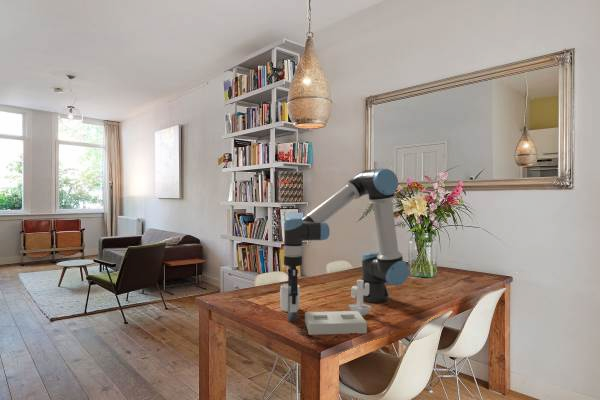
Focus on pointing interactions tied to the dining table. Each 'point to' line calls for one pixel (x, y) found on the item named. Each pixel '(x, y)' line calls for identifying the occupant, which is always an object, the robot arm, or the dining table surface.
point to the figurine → (360, 298)
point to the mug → (285, 297)
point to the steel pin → (291, 315)
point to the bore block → (335, 322)
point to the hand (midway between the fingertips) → (292, 306)
